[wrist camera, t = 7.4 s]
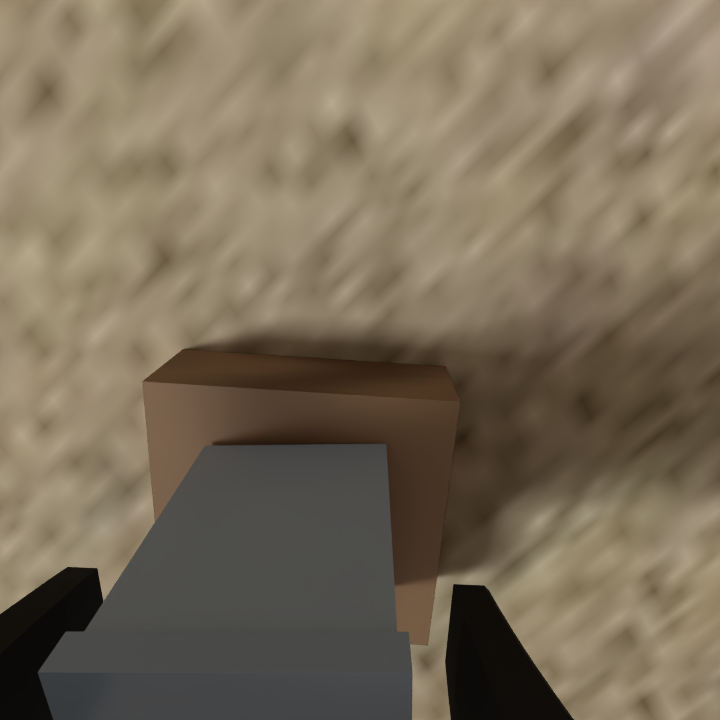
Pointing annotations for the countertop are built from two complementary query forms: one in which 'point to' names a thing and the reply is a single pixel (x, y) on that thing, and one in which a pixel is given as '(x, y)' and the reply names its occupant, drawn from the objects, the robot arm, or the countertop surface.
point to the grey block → (251, 599)
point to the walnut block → (320, 438)
